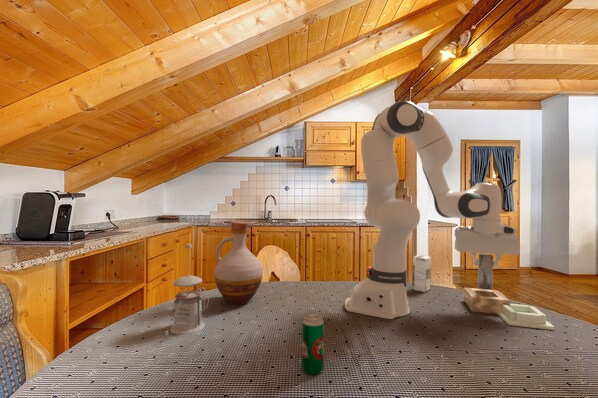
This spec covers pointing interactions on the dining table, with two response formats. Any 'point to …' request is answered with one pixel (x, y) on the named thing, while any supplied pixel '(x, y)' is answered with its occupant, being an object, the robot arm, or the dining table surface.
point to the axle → (485, 271)
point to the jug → (238, 268)
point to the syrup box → (421, 273)
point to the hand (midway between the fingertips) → (485, 265)
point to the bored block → (485, 300)
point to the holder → (524, 316)
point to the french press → (188, 305)
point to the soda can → (312, 344)
